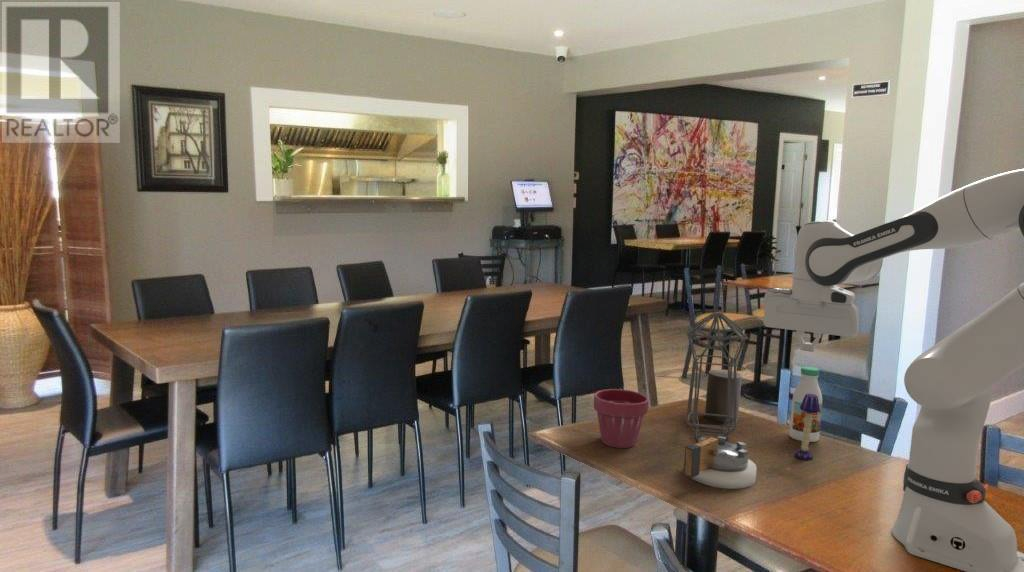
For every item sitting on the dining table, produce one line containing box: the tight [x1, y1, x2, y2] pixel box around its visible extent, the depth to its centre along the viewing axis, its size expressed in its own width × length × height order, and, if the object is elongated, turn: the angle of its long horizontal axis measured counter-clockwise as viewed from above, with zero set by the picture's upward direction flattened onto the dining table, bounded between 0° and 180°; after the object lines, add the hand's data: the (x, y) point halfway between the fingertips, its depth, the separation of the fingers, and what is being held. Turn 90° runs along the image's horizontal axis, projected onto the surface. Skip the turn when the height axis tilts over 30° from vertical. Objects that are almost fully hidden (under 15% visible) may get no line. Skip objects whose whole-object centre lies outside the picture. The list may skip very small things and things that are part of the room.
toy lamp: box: [794, 394, 820, 461], centre depth 178 cm, size 5×5×17 cm
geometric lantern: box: [685, 311, 749, 442], centre depth 191 cm, size 16×16×35 cm
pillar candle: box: [704, 368, 743, 423], centre depth 209 cm, size 10×10×15 cm
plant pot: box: [593, 388, 649, 449], centre depth 185 cm, size 14×14×13 cm
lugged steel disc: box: [682, 435, 749, 479], centre depth 162 cm, size 21×12×7 cm, turn 135°
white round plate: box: [691, 458, 758, 490], centre depth 166 cm, size 16×16×3 cm
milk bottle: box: [789, 366, 823, 443], centre depth 193 cm, size 8×8×20 cm
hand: (807, 350), depth 161 cm, fingers closed
